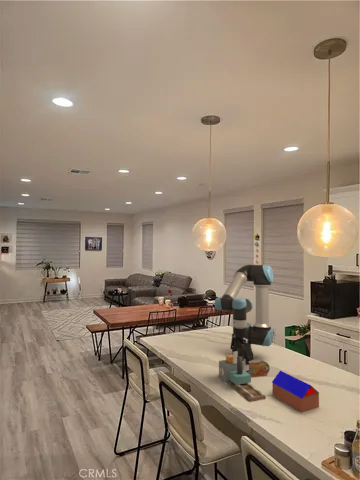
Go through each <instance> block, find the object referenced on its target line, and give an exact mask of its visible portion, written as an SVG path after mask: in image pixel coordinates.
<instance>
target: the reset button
mask: <svg viewBox="0 0 360 480" xmlns="http://www.w3.org/2000/svg"><path fill="white" fill-rule="evenodd" d="M225 360H226V361H227V362H229V363H233V355H232V354H227V355H225Z"/></svg>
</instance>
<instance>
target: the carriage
mask: <svg viewBox="0 0 360 480" xmlns="http://www.w3.org/2000/svg"><path fill="white" fill-rule="evenodd" d="M243 363H244V361H243V360H242V357H241V356H237V371H232V372H229V379H230V380H231V381H232V382H233V383H235V384H236V385H239V384H245V383H250V384H251V383H252V377H251V375H250V374H249V373H247V372H246V371H244V370H243Z"/></svg>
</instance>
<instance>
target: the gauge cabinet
mask: <svg viewBox="0 0 360 480" xmlns="http://www.w3.org/2000/svg"><path fill="white" fill-rule="evenodd" d="M243 370H244V362H243ZM232 371H237V363H235V364H233V363H229V362H227V361H226V359H221V360H218V378H219V379H220V380H221V381H222V382H224V383H225V384H229V381H230V379H229V372H232Z"/></svg>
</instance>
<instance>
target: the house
mask: <svg viewBox="0 0 360 480" xmlns="http://www.w3.org/2000/svg"><path fill="white" fill-rule="evenodd" d="M271 383H272V396H274V397H275V398H277V399H279V400H281V401H282V402H284V403H285V404H288V405H289V406H290V407H292V408H294V409H296V411H297V410H298V411H299V412H301V413H304V412H308V411H311V410H313V409H316V408H320V397H319V396H320V392H319V391H318V390H317V389H316V388H314V386H313V385H311V384H309V383H307V382H305V381H303V380H301V379H299V378H296V377H294V376H292V375H290V374H288V373H286V372H284V371H282V370H279V371H278V373H277V375H275V377H274V379H272V381H271Z"/></svg>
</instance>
